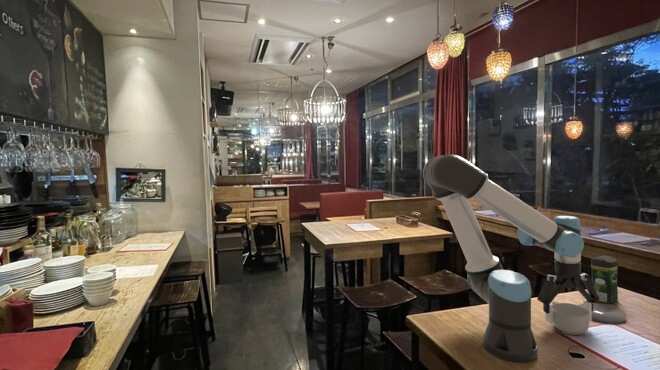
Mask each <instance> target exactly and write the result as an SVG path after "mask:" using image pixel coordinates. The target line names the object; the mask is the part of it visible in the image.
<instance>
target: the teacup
mask: <svg viewBox="0 0 660 370" xmlns="http://www.w3.org/2000/svg"><path fill="white" fill-rule="evenodd" d="M551 304H552V305H553V323H552V325H554V327H555V328H557V329H558V330H559V331H560V332H562V333H564V334H567V335H570V336H579V335H582V334H584V333H586V332H587V331H588V330H589V326H590V322H589V311H588V310H587V309H586V308H584V307H582V306H579V305H580V304H574V303H571V302H568V303H567V302H559V301H556V300H555V301H554V300H553V301H552V302H551Z"/></svg>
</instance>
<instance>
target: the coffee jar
mask: <svg viewBox="0 0 660 370" xmlns="http://www.w3.org/2000/svg"><path fill="white" fill-rule="evenodd" d="M618 265H619V263H618V259H616V258H615V257H614V256H609V255H601V256H596V257H593V258H591V259H590V267H591V268H590V269H591V283H592V285H593V287H594V289H595V291H596V293H597V295H598V297H599V300H596V303H601V304H613V303H615V302H617V301H618V299H619V291H618V267H619V266H618Z"/></svg>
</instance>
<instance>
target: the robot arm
mask: <svg viewBox="0 0 660 370" xmlns="http://www.w3.org/2000/svg"><path fill="white" fill-rule="evenodd" d="M422 177H423V180H424V182H425V183H426V185H427V186H429V188H430V189H431V191H432V192H431V193H432V195H433V197H434V198H435V200H438V201H439V202H441V204H442V206H443V208H444V211H445V213H446V216H447V218H448V220H449V222H450V225H451V227H452V229H453V231H454V234H455V237H456V240H457V241H458V243H459V245H460V248H461V250H462V253H463V255H464V257H465V260H466V265H465V268H464V269H465V271H466V273H467V274H466V275H467V276H466V278H467V282H468V285H469V287H470V288H471V290H472V291H473V292H474V293H475V294H476V295H478V296H479V297H480V298H481V299H482V300H484V301H485V302H486V303H487V304H488V323H487V324H486V325H487V326H486V329H485V331H484V335H483V337H482V346H483V348H484V349H485V350H486V352H488V353H490V354H491V355H492V356H495V357H497V358H499V359H502V360H506V361H510V362H516V363H517V362H518V363H527V362H532V361H534V360H536V359H537V358H538V349H539V347H538V344H537V341H536V339H535V336H534V334H533V331H532V330H533V329H532V292H533V291H532V287H531V286H532V285H531V282H530V280H529V279H528V278H527V277H526V276H525V275H524V274H521V273H520V272H515V271H513V270H508V269H504V267H503V265H502V263H501V261H500V259H499V257H498V256H496V255H493V254H492V251H491V249H490V247H489V244H488V242H487V240H486V238H485V235H484V233H483V231H482V230H483V229H482V227H481V225H480V224H479V221H478V218H477V217H476V214H475V212H474V209H473V207H472V205H471V202H470V200H472V199H473V200H474V201H476V202H477V203H479V204H481V205H482V206H483V207H485V208H487V209H488V210H490V211H491V212H493V213H494V214H496V215H497V216H499V217H501V218H502V219H504V220H505V221H507V222H508V223H510V224H511V225H513V226H515V227H516V228H517V238H518V241H519V242H520V244H521V245H523V246H529V247H530V246H531V247H532V246H533V247H534V246H537V247H540V248H543V249H545V250H548V251H551V252H554V256H553V257H554V259H555V260H554V271H555V274H554V275H552V274H548V273H547V274H546V275H545V281H544V284H543V286H542V288H541V289H540V292H539V293H538V295H537V299H536V300H537V301H538V302H539V303H542V305H543V306H542V308H543V312H544V313H545V321H546V322H548V323H549V324H552V325H553V305H552V303H553V302H554V300H555V298H556V297H557V296H558V294H560V292H561V291H563V290H564V289H569V288H570V289H576V290H577V291H578V293H580V294H581V296H582V297H583V298H584V299H583V303H582V304H583V307H584V308H586V309H587V310H588V311H589V323H590V322H591V323H593V322H592V321H593V320H592V311H593V304H597V301H596V300H599V297H598V295H597V293H596V291H595V289H594V287H593V285H592V280H591V275H590V274H587V273H585V272H582V263H581V261H582V252H583V250H584V246H585V242H584V239H583V238H582V236H581V235H582V233H581V232H582V228H581V221H580V218H578V217H577V216H573V215H572V216H570V215H558V216H554V218H553V220H552V219H550V218H548V217H547V215H544V214H543V213H541V212H540V211H538V210H536V209H535V208H533V207H531V205H529V204H527V203H526V202H524V201H523V200H521V199H520V198H518V197H517V196H515V195H514V194H512V193H510V192H509V191H508V190H505V189H504V188H503V187H502V186H500V185H498V184H497V183H495V182H494V181H493V180H490V179H489V175H488V173H486V172H485V171H484V170H482V169H480V168H479V167H477V166H476V165H474V164H473V163H472V162H471V161H468V160H467V159H465V158H464V157H462V156H461V155H457V154H452V153H451V154H444V155H443V154H441V155H437V156H434V157H433V158H431V159H429V160H428V161H427V162H426V163H425V164H424V167H423V169H422ZM580 281H582V284H583V285H584V287H585V288H586V289H585V288H584V287H583V285H582V284H581V283H580Z"/></svg>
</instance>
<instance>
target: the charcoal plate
mask: <svg viewBox="0 0 660 370" xmlns="http://www.w3.org/2000/svg"><path fill="white" fill-rule="evenodd" d="M578 305H579V306H582V307H583V303H580V304H578ZM626 320H627V315H626V313H624V312H623V311H622V310H619V309H616V308H614V307H611V306H607V305H602V304H597V303H593V311H592V321H595V322H599V323H606V324H614V325H615V324H623V323H625V322H626Z"/></svg>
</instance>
